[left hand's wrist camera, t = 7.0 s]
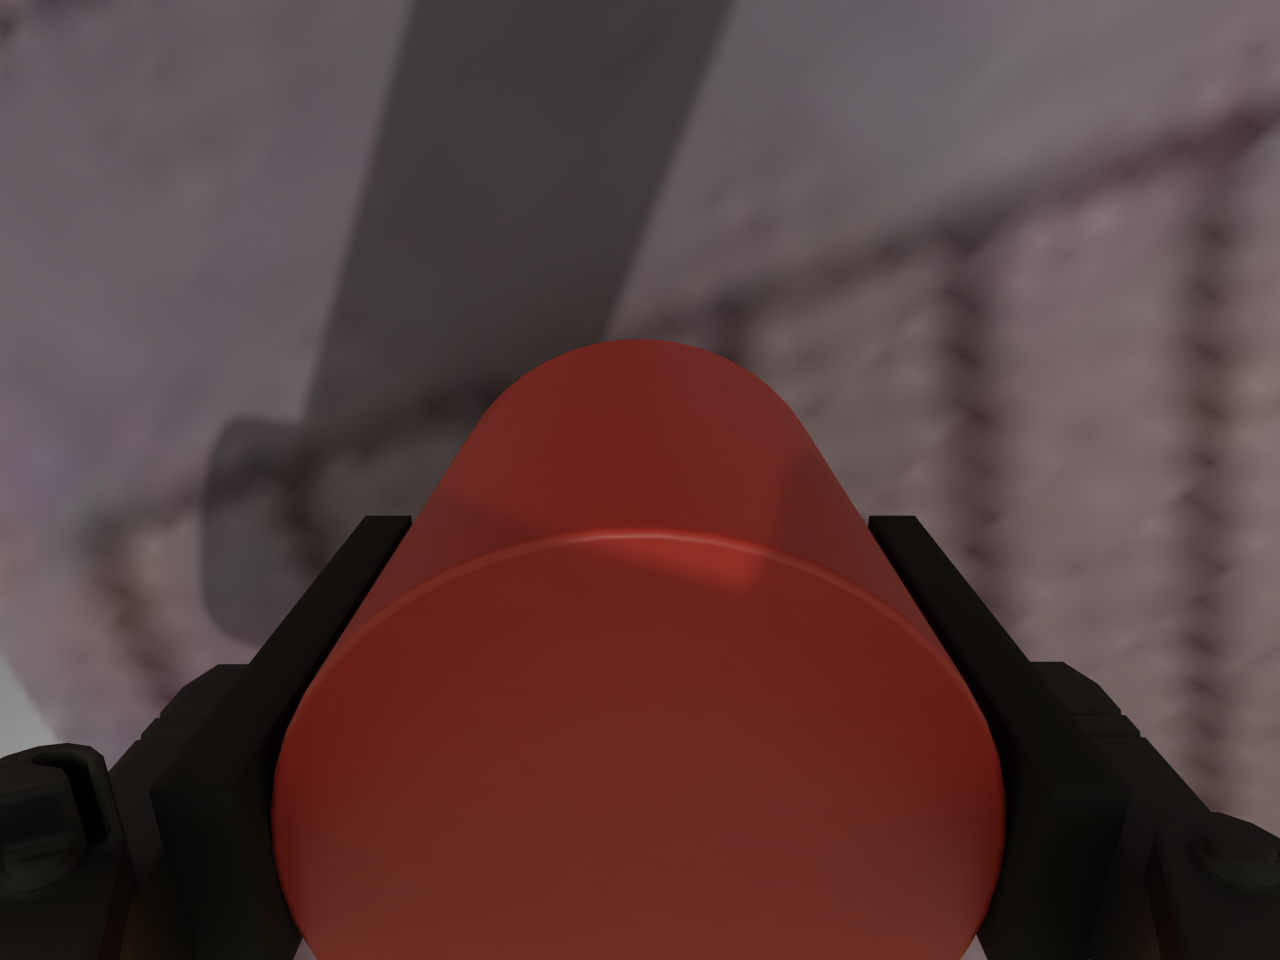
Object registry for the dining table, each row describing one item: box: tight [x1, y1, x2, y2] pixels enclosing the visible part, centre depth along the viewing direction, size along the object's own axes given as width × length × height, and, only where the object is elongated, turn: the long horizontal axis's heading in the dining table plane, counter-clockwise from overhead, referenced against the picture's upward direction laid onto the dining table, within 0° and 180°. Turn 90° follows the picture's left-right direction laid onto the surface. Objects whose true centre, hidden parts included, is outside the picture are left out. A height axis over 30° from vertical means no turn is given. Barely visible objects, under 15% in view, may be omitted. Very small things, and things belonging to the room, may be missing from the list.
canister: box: [271, 339, 1006, 960], centre depth 13 cm, size 8×8×9 cm
